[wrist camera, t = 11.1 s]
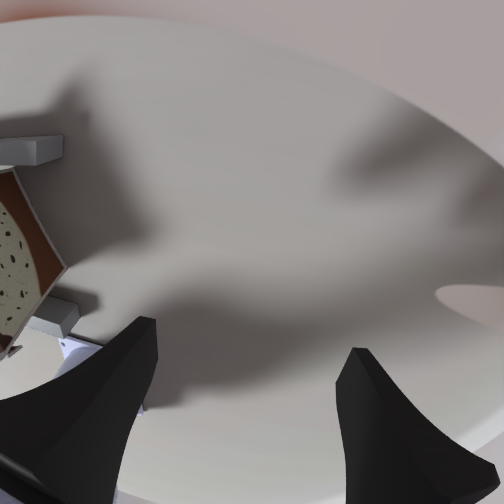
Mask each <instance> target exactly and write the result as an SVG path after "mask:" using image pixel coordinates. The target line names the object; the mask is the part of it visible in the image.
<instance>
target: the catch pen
mask: <svg viewBox="0 0 504 504" xmlns="http://www.w3.org/2000/svg"><path fill="white" fill-rule="evenodd" d="M63 141H64V135H53V136H30V137H14V138H2V139H0V165H28V166H37V165H40V164H43V163H45V162H48V161H51V160H55V159H58V158H61V157H63ZM79 319H80V314H79V310H78V305H77V304H76V303H72V302H69V301H65V300H62V299H58V298H55V297H51V296H48V295H47V296H46V297H45V299H44V300H43V301H42V303H41V304H40V306H39V307H38V308H37V310H36V311H35V313H34V314H33V315H32V317H31V318H30V320H29V321H28V323H27V324H26V326H28V327H30V328H33V329H36V330H38V331H41V332H44V333H47V334H49V335H52V336H55V337H58V338H61V339H65V338H66V336H67V335H68V333H69V332H70V331H71V329H72V328H73V327H74V325H75V324H76V323H77V322H78V320H79Z"/></svg>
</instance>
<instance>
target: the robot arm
mask: <svg viewBox="0 0 504 504" xmlns="http://www.w3.org/2000/svg"><path fill="white" fill-rule="evenodd" d="M58 340H59V343H60V346H61V349H62V352H63V355H64V358H65V361H64V362H63V364H62V365H61V367H60V369H59V370H58V372H57V373H56V375H55V376H54V378H53V379H52V380H51V381H49V382H47V383H45V384H43V385H41V386H39V387H37V388H34V389H32V390H29V391H27V392H24V393H22V394H19V395H16V396H13V397H10V398H7V399H3V400H0V504H116V502H117V497H118V496H117V495H118V488H117V484H116V483H117V478H118V474H119V470H120V465H121V461H122V457H123V454H124V450H125V446H126V443H127V439H128V436H129V433H130V430H131V428H132V425H133V423H134V421H135V418H136V416H137V415H139V416H142V415H143V413H144V411H143V407H142V402H143V400H144V397H145V395H146V393H147V391H148V388H149V386H150V384H151V381H152V378H153V375H154V371H155V368H156V364H157V361H158V350H157V335H156V319H152V318H147V317H143V316H139V317H138V318H137V319H135V320H134V321H133V322H132V323H131V324H129V325H128V326H127V327H126V328H125V329H124V330H123V331H121V332H120V333H119V334H118V335H117V336H115V337H114V338H113V339H112V340H111V341H109V342H108V343H107V344H106V345H104V346H99V345H96V344H92V343H89V342H86V341H82V340H79V339H76V338H73V337H70V336H66V338H65V339H61V338H58ZM336 405H337V412H338V418H339V424H340V429H341V435H342V441H343V447H344V453H345V462H346V504H475V503H477V502H478V501H480V500H481V499H483V498H484V497H485V496H487V495H489V494H490V493H491V492H493V491H494V490H495V489H496V488H497V487H498V486H499V485H500V479H499V476H498V474H497V471H496V468H495V465H494V464H492V463H490V462H488V461H486V460H484V459H482V458H480V457H478V456H476V455H474V454H473V453H471V452H469V451H468V450H466V449H465V448H463V447H462V446H460V445H459V444H457V443H456V442H454V441H453V440H452V439H450V438H449V437H448V436H446V435H445V434H444V433H443V432H441V431H440V430H439V429H438V428H437V427H435V426H434V425H433V424H432V423H431V422H430V421H429V420H428V419H427V418H426V417H425V416H424V415H423V414H422V413H421V412H420V411H419V410H418V409H417V408H416V407H415V406H414V405H413V404H412V403H411V402H410V401H409V399H408V398H407V397H406V396H405V395H404V394H403V393H402V391H401V390H400V389H399V388H398V387H397V385H396V384H395V383H394V382H393V380H392V379H391V378H390V376H389V375H388V374H387V373H386V371H385V370H384V369H383V367H382V366H381V365H380V364H379V362H378V361H377V360H376V358H375V357H374V356H373V355H372V353H371V352H370V351H369V350H368V349H367V348H354V347H353V348H352V350H351V352H350V354H349V356H348V359H347V361H346V363H345V365H344V367H343V369H342V371H341V373H340V375H339V377H338V379H337V381H336Z"/></svg>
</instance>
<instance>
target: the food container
mask: <svg viewBox="0 0 504 504" xmlns="http://www.w3.org/2000/svg"><path fill="white" fill-rule="evenodd" d="M67 269H68V268H67V266H66V264H65V263H64V261H63V260H62V258H61V256H60V255H59V253H58V251H57V250H56V248H55V246H54V245H53V243H52V241H51V240H50V238H49V236H48V234H47V233H46V231H45V229H44V227H43V225H42V224H41V222H40V220H39V218H38V216H37V214H36V212H35V210H34V208H33V207H32V205H31V203H30V201H29V199H28V197H27V195H26V192H25V190H24V188H23V186H22V184H21V182H20V180H19V178H18V175H17V173H16V171H15V169H14V168H9V169H5V170H0V361H2V360H3V359H5V358H10V357H11V356H12V355H13V354H15V353H16V352H17V351H19V350H20V349H21V348H23V347H22V345H20V346H12V345H13V344H14V342H15V341H16V339H17V338H18V336H19V335H20V333H21V332H22V330H23V329H24V327H25V326H26V324H27V323H28V321H29V320H30V318H31V317H32V315H33V314H34V313H35V311H36V310H37V308H38V307H39V306H40V304H41V303H42V301H43V300H44V299H45V297H46V296H47V295H48V293H49V292H50V291H51V289H52V288H53V287H54V285H55V284H56V283H57V282H58V280H59V279H60V278H61V276H62V275H63V274H64V273H65V271H66V270H67Z"/></svg>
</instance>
